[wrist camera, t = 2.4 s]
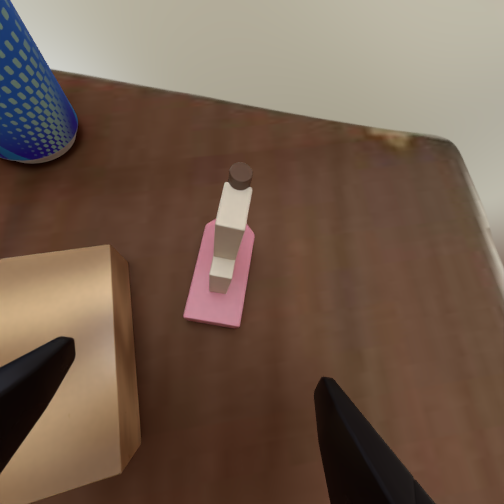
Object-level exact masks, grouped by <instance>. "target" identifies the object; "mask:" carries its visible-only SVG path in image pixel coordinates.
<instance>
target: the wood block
mask: <svg viewBox="0 0 504 504" xmlns="http://www.w3.org/2000/svg"><path fill="white" fill-rule="evenodd" d="M59 336H66V337H72V338H73V339H74V341H75V352H76V356H75V360H74V362H73V364H72V365H71V367H70V369H69V371H68V372H67V374H66V376H65V378H64V379H63V381H62V383H61V385H60V386H59V388H58V390H57V391H56V393H55V395H54V397H53V398H52V400H51V402H50V403H49V405H48V407H47V408H46V410H45V411H44V413H43V414H42V416H41V417H40V418H39V420H38V421H37V423H36V424H35V426H34V427H33V428H32V430H31V431H30V433H29V434H28V435H27V437H26V438H25V440H24V441H23V443H22V444H21V445H20V447H19V448H18V450H17V451H16V452H15V454H14V455H13V457H12V458H11V460H10V461H9V462H8V464H7V465H6V467H5V468H4V470H3V471H2V472H1V474H0V504H29V503H32V502H36V501H39V500H42V499H45V498H48V497H51V496H54V495H57V494H60V493H63V492H66V491H69V490H72V489H75V488H78V487H81V486H85V485H88V484H91V483H94V482H97V481H100V480H103V479H106V478H109V477H112V476H115V475H118V474H121V473H122V472H123V470H124V469H125V467H126V466H127V464H128V463H129V461H130V460H131V458H132V457H133V455H134V454H135V452H136V451H137V449H138V448H139V446H140V445H141V429H140V416H139V402H138V388H137V375H136V361H135V348H134V334H133V320H132V307H131V293H130V279H129V266H128V262H127V261H126V260H125V259H124V258H123V257H122V256H121V255H120V254H119V253H118V252H117V251H116V250H115V249H114V248H113V247H112V246H111V245H110V244H108V245H100V246H93V247H86V248H78V249H71V250H63V251H56V252H49V253H41V254H34V255H26V256H19V257H11V258H4V259H0V367H2V366H4V365H5V364H7V363H9V362H11V361H13V360H15V359H17V358H19V357H21V356H23V355H25V354H26V353H28V352H30V351H32V350H34V349H36V348H38V347H40V346H42V345H44V344H45V343H47V342H49V341H51V340H53V339H55V338H57V337H59Z"/></svg>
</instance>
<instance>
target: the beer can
mask: <svg viewBox="0 0 504 504" xmlns="http://www.w3.org/2000/svg"><path fill="white" fill-rule="evenodd" d="M77 129H78V119H77V115H76V113H75V111H74V109H73V108H72V106H71V104H70V102H69V101H68V99H67V97H66V96H65V94H64V92H63V90H62V89H61V87H60V85H59V84H58V82H57V80H56V78H55V77H54V75H53V73H52V72H51V70H50V68H49V66H48V65H47V63H46V61H45V60H44V58H43V56H42V54H41V53H40V51H39V50H38V47H37V46H36V44H35V42H34V41H33V39H32V37H31V35H30V34H29V32H28V30H27V29H26V27H25V25H24V23H23V22H22V20H21V18H20V16H19V15H18V13H17V11H16V10H15V8H14V6H13V4H12V3H11V1H10V0H0V158H3V159H7V160H12V161H18V162H22V163H31V164H34V163H43V162H48V161H51V160H54V159H56V158H58V157H60V156H62V155H63V154H65V153H66V152H67V151H68V150H69V149H70V148H71V146H72V145H73V143H74V141H75V138H76V132H77Z"/></svg>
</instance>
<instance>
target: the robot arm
mask: <svg viewBox="0 0 504 504" xmlns="http://www.w3.org/2000/svg"><path fill="white" fill-rule="evenodd" d="M75 356H76V352H75V341H74V339H73V338H72V337H66V336H59V337H57V338H55V339H53V340H51V341H49V342H47V343H45V344H44V345H42V346H40V347H38V348H36V349H34V350H32V351H30V352H28V353H26V354H25V355H23V356H21V357H19V358H17V359H15V360H13V361H11V362H9V363H7V364H5V365H4V366H2V367H0V474H1V472H2V471H3V470H4V468H5V467H6V465H7V464H8V462H9V461H10V460H11V458H12V457H13V455H14V454H15V452H16V451H17V450H18V448H19V447H20V445H21V444H22V443H23V441H24V440H25V438H26V437H27V435H28V434H29V433H30V431H31V430H32V428H33V427H34V426H35V424H36V423H37V421H38V420H39V418H40V417H41V416H42V414H43V413H44V411H45V410H46V408H47V407H48V405H49V403H50V402H51V400H52V398H53V397H54V395H55V393H56V391H57V390H58V388H59V386H60V385H61V383H62V381H63V379H64V378H65V376H66V374H67V372H68V371H69V369H70V367H71V365H72V364H73V362H74V360H75ZM314 401H315V411H316V421H317V432H318V440H319V446H320V452H321V457H322V462H323V467H324V472H325V478H326V483H327V488H328V493H329V498H330V503H331V504H435V503H434V501H433V500H432V499H431V498H430V497H429V495H428V494H427V493H426V492H425V491H424V489H423V488H422V487H421V486H420V484H419V483H418V482H417V481H416V480H414V478H413V476H412V475H411V473H410V472H409V471H408V470H407V469H406V467H405V466H404V465H403V464H402V462H401V461H400V460H399V459H398V458H397V456H396V455H395V454H394V453H393V451H392V450H391V449H390V448H389V446H388V445H387V444H386V443H385V442H384V440H383V439H382V438H381V437H380V435H379V434H378V433H377V432H376V430H375V429H374V428H373V427H372V426H371V424H370V423H369V422H368V421H367V419H366V418H365V417H364V416H363V415H362V413H361V412H360V411H359V410H358V408H357V407H356V406H355V405H354V403H353V402H352V401H351V400H350V399H349V397H348V396H347V395H346V394H345V392H344V391H343V390H342V389H341V387H340V386H339V385H338V384H337V383H336V381H335V380H334V379H333V378H329V377H321V379H320V381H319V383H318V385H317V387H316V389H315V392H314Z"/></svg>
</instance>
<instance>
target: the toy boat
mask: <svg viewBox="0 0 504 504" xmlns="http://www.w3.org/2000/svg"><path fill="white" fill-rule="evenodd" d="M252 176H253V171H252V169H251V167H250V166H249V165H247V164H245V163H241V162H239V163H235V164H233V165H232V166H231V168H230V171H229V179H228V182H225V183H224V187H223V191H222V196H221V200H220V204H219V209H218V213H217V217H216V219H215V220H213V221H211V222H209V223H208V224H206V226H205V230H204V234H203V238H202V242H201V246H200V250H199V254H198V258H197V262H196V266H195V270H194V275H193V279H192V283H191V287H190V291H189V295H188V299H187V303H186V307H185V311H184V315H183V317H184V318H185V319H186V320H187V321H193V322H199V323H205V324H211V325H217V326H223V327H228V328H234V329H236V328H238V327H240V323H241V316H242V310H243V304H244V298H245V292H246V286H247V280H248V274H249V267H250V261H251V255H252V249H253V243H254V237H255V235H254V233H253V232H252V230H251V229H250V228H249V226H248V225H247V224H246V223H247V217H248V211H249V206H250V200H251V195H252V188H251V187H250V184H251V180H252Z"/></svg>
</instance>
